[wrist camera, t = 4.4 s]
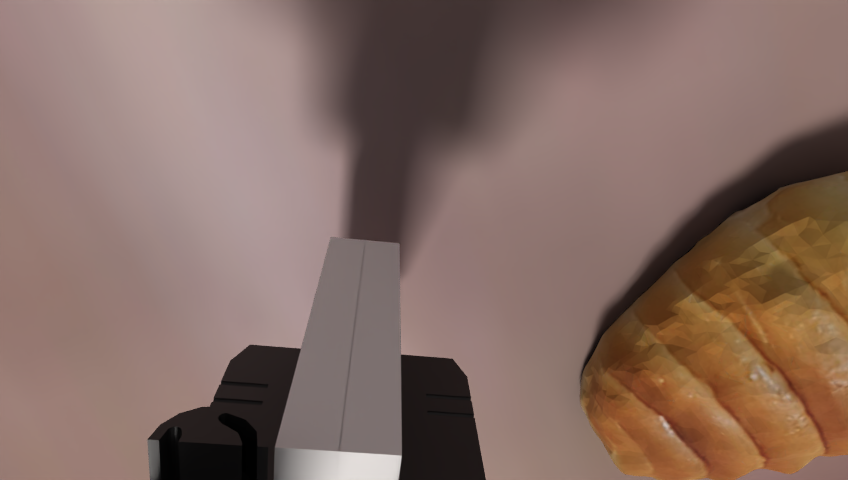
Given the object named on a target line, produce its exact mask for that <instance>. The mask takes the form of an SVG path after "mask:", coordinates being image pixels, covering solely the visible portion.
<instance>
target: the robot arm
mask: <svg viewBox="0 0 848 480" xmlns="http://www.w3.org/2000/svg"><path fill="white" fill-rule="evenodd" d="M470 400H471V396H470V390H469V385H468V379H467V376H466V375H465V374H464V372H463V371H462V370H461V369H460V368H459V366H458V365H457V364H456V363H455V361H454V360H453V359H449V358H437V357H424V356H411V355H401V329H400V243H391V242H380V241H370V240H359V239H348V238H338V237H331V238H330V242H329V245H328V249H327V253H326V257H325V260H324V264H323V268H322V272H321V276H320V279H319V283H318V287H317V291H316V294H315V298H314V302H313V306H312V309H311V313H310V317H309V321H308V324H307V328H306V332H305V336H304V339H303V343H302V347H301V349H297V348H284V347H272V346H259V345H249V346H248V347H247V348H246V349H244V350H243V351H242V352H241V353H239V354H238V355H237V356H236V357H234V358H233V359H232V360H231V361H230V363H229V365H228V367H227V369H226V372H225V374H224V376H223V378H222V381H221V385H219V387H218V389H217V392H216V394H215V396H214V401H213V402H212V403H211V405H210V407H200V408H197V409H193V410H190V411H186V412H183V413H179V414H178V415H176V416H174V417H173V418H171V419H169V420H167V421H166V422H164V423H162V424H161V425H160V426H159V427H158V428H157V429H156V430H155V431H154V433H153V434H152V435H151V436H150V437H149V438H148V455H149V471H150V480H486V479H485V473H484V468H483V462H482V456H481V451H480V445H479V440H478V434H477V429H476V423H475V418H474V412H473V407H472V401H470Z"/></svg>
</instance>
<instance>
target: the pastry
mask: <svg viewBox="0 0 848 480" xmlns="http://www.w3.org/2000/svg"><path fill="white" fill-rule="evenodd" d="M580 404H581V406H582V409H583V411H584V412H585V414H586V416H587V418H588V420H589V423H590V425H591V427H592V429H593V430H594V432H595V433H596V434H597V436H598V437H599V438H600V439H601V441H602V442H603V444H604V446H605V448H606V450H607V452H608V453H609V455H610V457H611V459H612V460H613V462H614V464H615V465H616V466H617V467H618V468H619V470H620V471H621V472H623V473H624V474H627V475H633V476H648V477H653V478H655V479H657V480H692V479H702V478H710V479H713V480H735V479H737V478H739V477H741V476H743V475H746V474H748V473H749V472H751V471H753V470H755V469H769V470H774V471H778V472H782V473H787V474H792V473H795V472H797V471H799V470H800V469H801V468H802V467H804V466H805V465H806V464H807V463H809V462H810V461H811V460H813V459H814V458H815V457H817V456H839V455H848V171H846V172H842V173H838V174H834V175H830V176H826V177H822V178H818V179H813V180H809V181H805V182H800V183H795V184H791V185H788V186H784V187H780V188H779V189H778V190H777V191H775V192H774V193H772V194H770V195H769V196H767V197H766V198H764V199H763V200H761V201H759V202H757V203H755V204H753V205H752V206H750V207H748V208H746V209H744V210H741V211H737V212H735V213H733V214H732V215H731V216H730V217H728V218H727V219H726V220H725V221H724V222H723V223H722V224H720V225H719V226H718V227H717V228H716V229H715V230H714V231H713V232H711V233H710V234H709V235H707V236H705V237H704V238H702V239H701V240H700V241H699V242H697V244H696V245H695V246H694V247H693V248H692V250H691V251H690V252H688V253H687V254H686V255H684V256H683V257H681V258H680V259H679V260H677V261H676V262H675V263H674V264H672V266H671V267H670V268H669V269H668V270H667V271H666V272H665V273H664V274H663V275H662V276H661V277H660V278H659V279H658V280H657V281H656V282H655V283H654V284H653V285H652V286H651V287H650V288H649V289H648V290H647V291H646V292H645V293H643V294H642V295H641V296H640V297H639V298H638V299H637V300H636V301H635V302H634V303H633V304H632V305H631V306H630V307H629V308H628V309H627V310H626V311H625V312H624V313H623V314H622V315H621V316H620V317H619V318H618V319H617V320H616V321H615V322H614V323H613V324H612V325H611V326H610V327H609V328H608V330H607V331H606V332H605V333H604V334H603V335H602V337H601V339H600V341H599V343H598V345H597V347H596V349H595V351H594V353H593V355H592V357H591V359H590V360H589V362H588V363H587V365H586V367H585V368H584V371H583V374H582V379H581V388H580Z"/></svg>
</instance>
